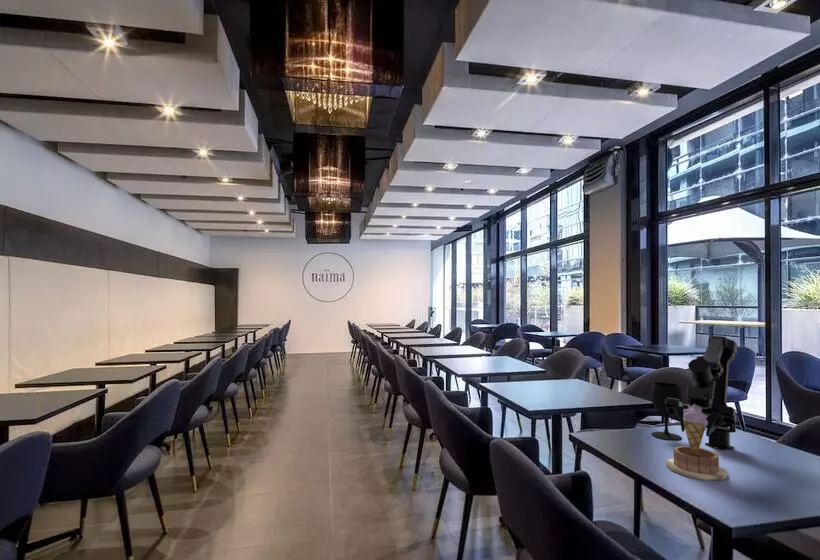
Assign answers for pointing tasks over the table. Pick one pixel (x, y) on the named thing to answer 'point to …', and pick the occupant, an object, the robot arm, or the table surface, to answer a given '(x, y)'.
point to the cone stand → (696, 464)
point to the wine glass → (658, 398)
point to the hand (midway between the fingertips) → (694, 433)
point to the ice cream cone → (694, 426)
